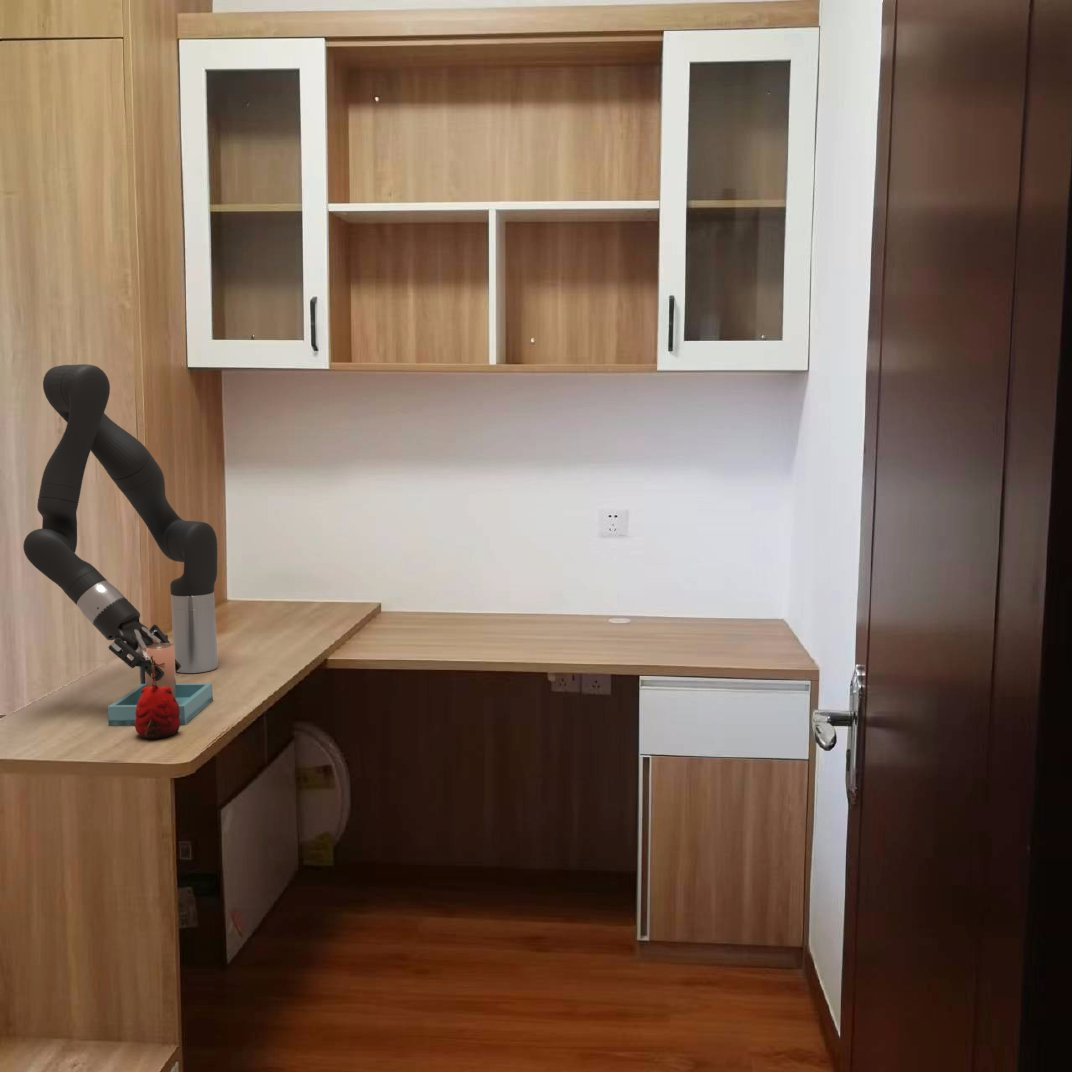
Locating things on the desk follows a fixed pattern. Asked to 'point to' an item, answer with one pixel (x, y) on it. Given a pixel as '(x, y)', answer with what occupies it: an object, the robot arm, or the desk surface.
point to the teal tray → (188, 698)
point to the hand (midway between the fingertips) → (168, 673)
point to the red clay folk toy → (157, 710)
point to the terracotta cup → (167, 656)
